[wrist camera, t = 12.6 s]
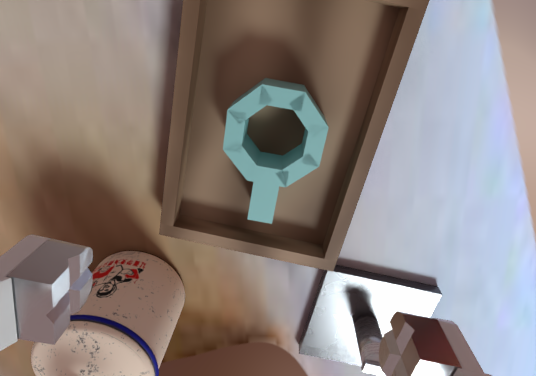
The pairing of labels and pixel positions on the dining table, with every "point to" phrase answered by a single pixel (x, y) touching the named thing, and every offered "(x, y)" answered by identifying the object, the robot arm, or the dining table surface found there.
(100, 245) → the dining table surface
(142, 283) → the teacup with lid
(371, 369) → the post stand
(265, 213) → the teal ring
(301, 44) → the walnut tray
